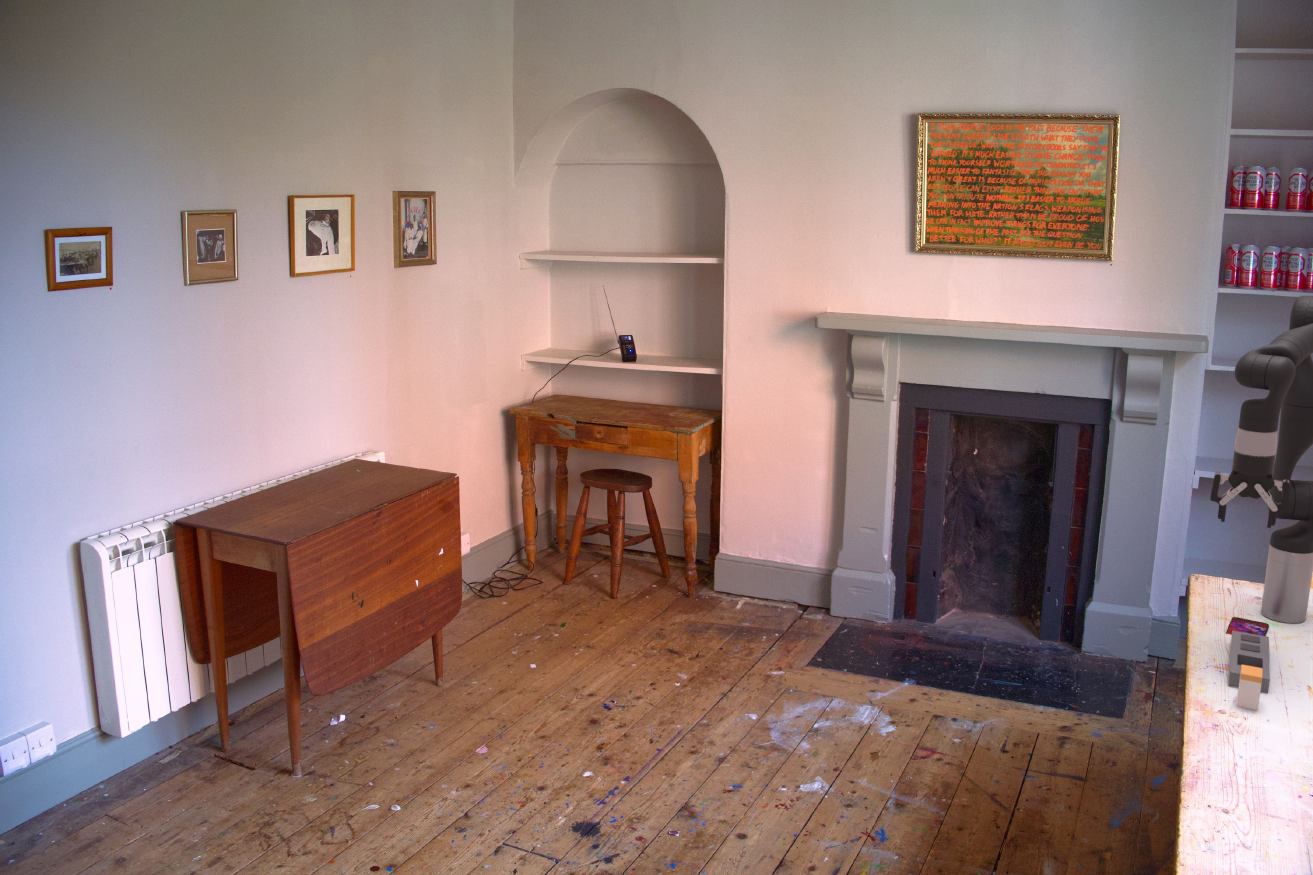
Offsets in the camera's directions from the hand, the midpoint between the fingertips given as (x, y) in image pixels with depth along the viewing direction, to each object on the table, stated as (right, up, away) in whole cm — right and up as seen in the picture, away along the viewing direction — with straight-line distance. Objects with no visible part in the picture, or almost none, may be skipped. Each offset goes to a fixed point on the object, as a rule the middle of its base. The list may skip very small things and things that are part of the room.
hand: (1245, 523), depth 220 cm
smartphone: (+10, -27, +18) cm, 34 cm away
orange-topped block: (-8, -35, -15) cm, 39 cm away
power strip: (0, -31, 0) cm, 31 cm away
